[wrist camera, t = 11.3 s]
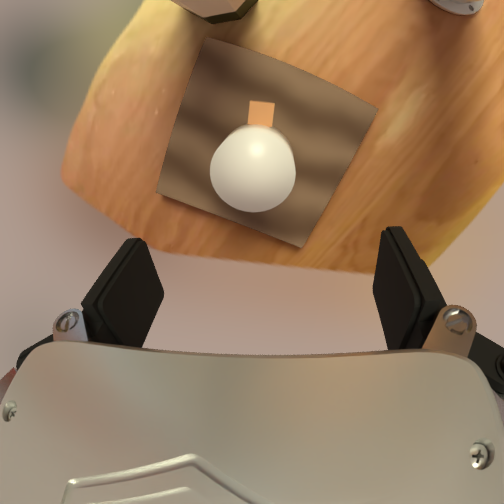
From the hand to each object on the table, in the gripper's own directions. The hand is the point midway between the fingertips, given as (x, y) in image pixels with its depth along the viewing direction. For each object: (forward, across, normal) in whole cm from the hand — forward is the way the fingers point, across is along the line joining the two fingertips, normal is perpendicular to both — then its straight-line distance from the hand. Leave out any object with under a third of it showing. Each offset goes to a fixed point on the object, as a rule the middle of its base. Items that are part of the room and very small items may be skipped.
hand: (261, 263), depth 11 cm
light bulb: (+19, +2, 0) cm, 19 cm away
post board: (+25, +2, +1) cm, 25 cm away
